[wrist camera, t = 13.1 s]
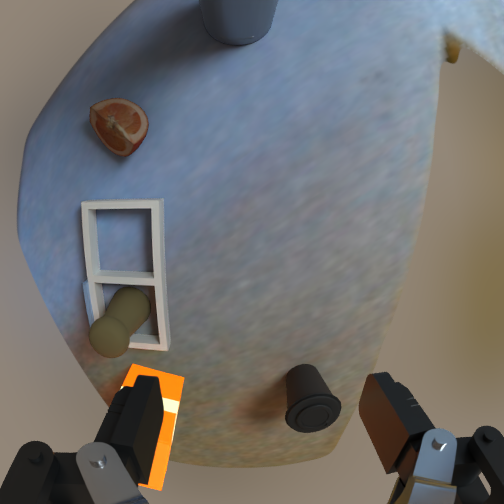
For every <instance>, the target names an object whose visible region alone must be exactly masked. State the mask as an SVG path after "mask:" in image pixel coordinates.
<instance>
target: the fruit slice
mask: <svg viewBox="0 0 504 504" xmlns="http://www.w3.org/2000/svg"><path fill="white" fill-rule="evenodd" d="M90 123H91V125H92V127H93V129H94V131H95V132H96V134H97V135H98V137H99V138H100V140H101V141H102V142H103V144H104V145H105V146H106V147H107V148H108V149H109V150H110V151H112V152H113V153H115V154H117V155H119V156H124V157H126V156H129V155H130V154H132V153H133V152H134V151H135V150H136V149H137V148H138V147H139V146H140V144H141V143H142V142H143V140H144V138H145V137H146V134H147V130H148V126H149V124H148V118H147V116H146V114H145V112H144V111H143V110H142V108H141V107H139V106H138V105H137V104H135V103H133V102H131V101H129V100H126V99H122V98H111V99H106V100H103V101H101V102H98V103H96V104H94V105H93V106H91V107H90Z"/></svg>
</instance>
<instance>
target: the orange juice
mask: <svg viewBox="0 0 504 504" xmlns="http://www.w3.org/2000/svg"><path fill="white" fill-rule="evenodd" d="M139 374H140V375H149V376H158V378H159V382H160V388H161V393H162V399H163V405H164V418H163V423H162V427H161V431H160V435H159V439H158V443H157V447H156V452H155V456H154V460H153V465H152V469H151V473H150V478H149V482H148V485H144V484H138V485H141V486H145V487H148V488H152V489H156V490H162V485H163V481H164V476H165V472H166V469H167V464H168V458H169V453H170V448H171V443H172V440H173V434H174V428H175V423H176V418H177V413H178V408H179V403H180V397H181V392H182V387H183V381H184V377H180V376H176V375H172V374H168V373H164V372H161V371H157V370H153V369H149V368H146V367H142V366H139V365H135V364H132V366H131V368H130V370H129V372H128V375H127V377H126V379H125V381H124V383H123V385H122V386H121V389H122V388H123V387H124V386H131V387H133V384H134V382H135V380H136V377H137V376H138V375H139Z"/></svg>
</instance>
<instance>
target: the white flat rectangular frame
mask: <svg viewBox="0 0 504 504" xmlns="http://www.w3.org/2000/svg"><path fill="white" fill-rule="evenodd" d="M81 207H82V226H83V240H84V251H85V261H86V270H87V278H88V279H87V280H86V281H85V282H84V283H82V284H83V291H84V297H85V304H86V309H87V315H88V320H89V325H90V327H91V325H92V324H93V323H94V321H95V320H96V319H98V318H100V317H103V315H104V314H105V312H106V309H105V302H104V295H103V288H102V283H112V284H130V285H150V286H155V296H156V308H157V319H158V328H159V336H158V335H145V334H133V335H132V336H131V337H130V344H129V346H128V347H129V348H139V349H150V350H162V351H168V349H169V346H170V343H171V338H170V327H169V315H168V302H167V287H166V268H165V242H164V198H147V199H102V200H87V201H83V202H81ZM133 208H151V214H152V248H153V267H154V272H138V271H115V270H100V262H99V251H98V238H97V222H96V209H133Z"/></svg>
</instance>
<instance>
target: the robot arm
mask: <svg viewBox="0 0 504 504" xmlns="http://www.w3.org/2000/svg"><path fill="white" fill-rule="evenodd" d="M199 3H200V7H201V12H202V16H203V21H204V25H205V28H206V30H207V32H208V33H209V34H210V35H211V36H212V37H213V38H214V39H216V40H218V41H220V42H222V43H226V44H230V45H245V44H250V43H253V42H255V41H258V40H259V39H261V38H262V37H264V36H265V35H266V34H267V33H268V31H269V29H270V28H271V24H272V21H273V17H274V14H275V10H276V6H277V3H278V0H199ZM359 414H360V417H361V419H362V421H363V423H364V426H365V428H366V430H367V432H368V434H369V436H370V439H371V441H372V443H373V445H374V447H375V449H376V452H377V454H378V456H379V458H380V460H381V462H382V465H383V467H384V469H385V471H386V474H390V473H394V472H398V474H399V477H398V478H397V480H396V483H395V485H394V488H393V491H392V493H391V496H390V498H389V501H388V503H387V504H504V437H503V435H502V434H501V433H500V432H499V431H498V430H497V429H496V428H494V427H491V426H482V427H479V428H478V429H477V430H476V432H475V433H474V434H473V436H472V437H460V438H455V436H454V435H453V434H452V433H451V432H449V431H447V430H445V429H440V428H435V427H434V425H433V424H432V422H431V421H430V419H429V418H428V416H427V415H426V413H425V412H424V411H423V409H422V408H421V406H420V405H418V402H417V401H416V399H414V397H413V395H412V394H411V392H410V391H409V389H408V388H406V387H405V386H403V385H402V384H401V383H399V382H396V383H395V382H394V380H393V379H392V377H391V376H390V374H389V373H387V372H382V373H374V374H369V375H368V376H367V379H366V382H365V385H364V388H363V392H362V395H361V398H360V401H359ZM163 418H164V405H163V399H162V393H161V388H160V382H159V378H158V376H149V375H140V374H139V375H138V376H137V377H136V380H135V382H134V384H133V387H131V386H124V387H123V388H122V389H120V390H119V391H118V392H117V393H116V394H115V396H114V398H113V401H112V403H111V405H110V407H109V409H108V413H106V416H105V418H104V420H103V422H102V425H101V427H100V429H99V431H98V434H97V436H96V438H95V440H94V442H92V443H88V444H86V445H85V446H83V447H82V448H80V450H79V451H78V452H76V453H58V452H56V453H54V452H53V451H52V449H51V448H50V447H49V446H48V445H47V444H45V443H43V442H40V441H31V442H28V443H26V444H24V445H23V446H22V447H21V448H20V449H19V451H18V453H17V455H16V457H15V459H14V461H13V463H12V465H11V467H10V469H9V471H8V473H7V475H6V477H5V480H4V481H3V484H2V486H1V488H0V504H149V503H148V501H147V500H146V499H145V498H144V497H143V496H142V495H141V493H140V491H139V490H138V484H144V485H148V482H149V478H150V473H151V469H152V465H153V460H154V456H155V452H156V447H157V443H158V439H159V435H160V431H161V427H162V423H163ZM481 472H482V473H483V474H484V476H485V478H486V480H487V481H488V483H489V485H490V487H491V494H490V496H489V494H488V492H487V490H486V489H485V487H484V485H483V483H482V481H481V480H480V478H479V476H478V475H479V474H480V473H481Z"/></svg>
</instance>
